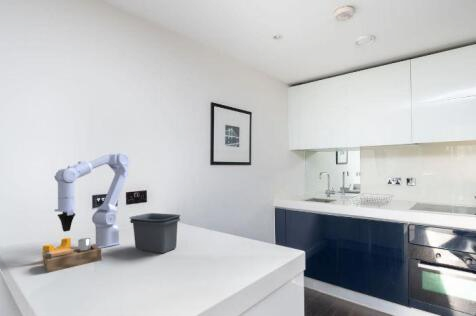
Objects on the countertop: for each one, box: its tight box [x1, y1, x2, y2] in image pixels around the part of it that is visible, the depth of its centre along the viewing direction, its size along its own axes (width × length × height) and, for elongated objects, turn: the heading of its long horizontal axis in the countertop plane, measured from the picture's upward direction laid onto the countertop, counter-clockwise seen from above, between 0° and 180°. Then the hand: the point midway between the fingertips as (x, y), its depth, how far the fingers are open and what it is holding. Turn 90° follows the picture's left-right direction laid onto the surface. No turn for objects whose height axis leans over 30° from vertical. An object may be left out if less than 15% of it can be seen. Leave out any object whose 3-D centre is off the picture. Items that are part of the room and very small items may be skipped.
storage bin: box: [129, 212, 181, 254], centre depth 115 cm, size 21×16×14 cm
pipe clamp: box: [42, 237, 72, 264], centre depth 106 cm, size 12×4×6 cm, turn 177°
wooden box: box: [43, 244, 102, 273], centre depth 100 cm, size 17×10×6 cm, turn 133°
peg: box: [77, 237, 91, 253], centre depth 102 cm, size 4×4×8 cm
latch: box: [45, 247, 74, 257], centre depth 97 cm, size 8×4×1 cm, turn 133°
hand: (66, 231), depth 108 cm, fingers closed
